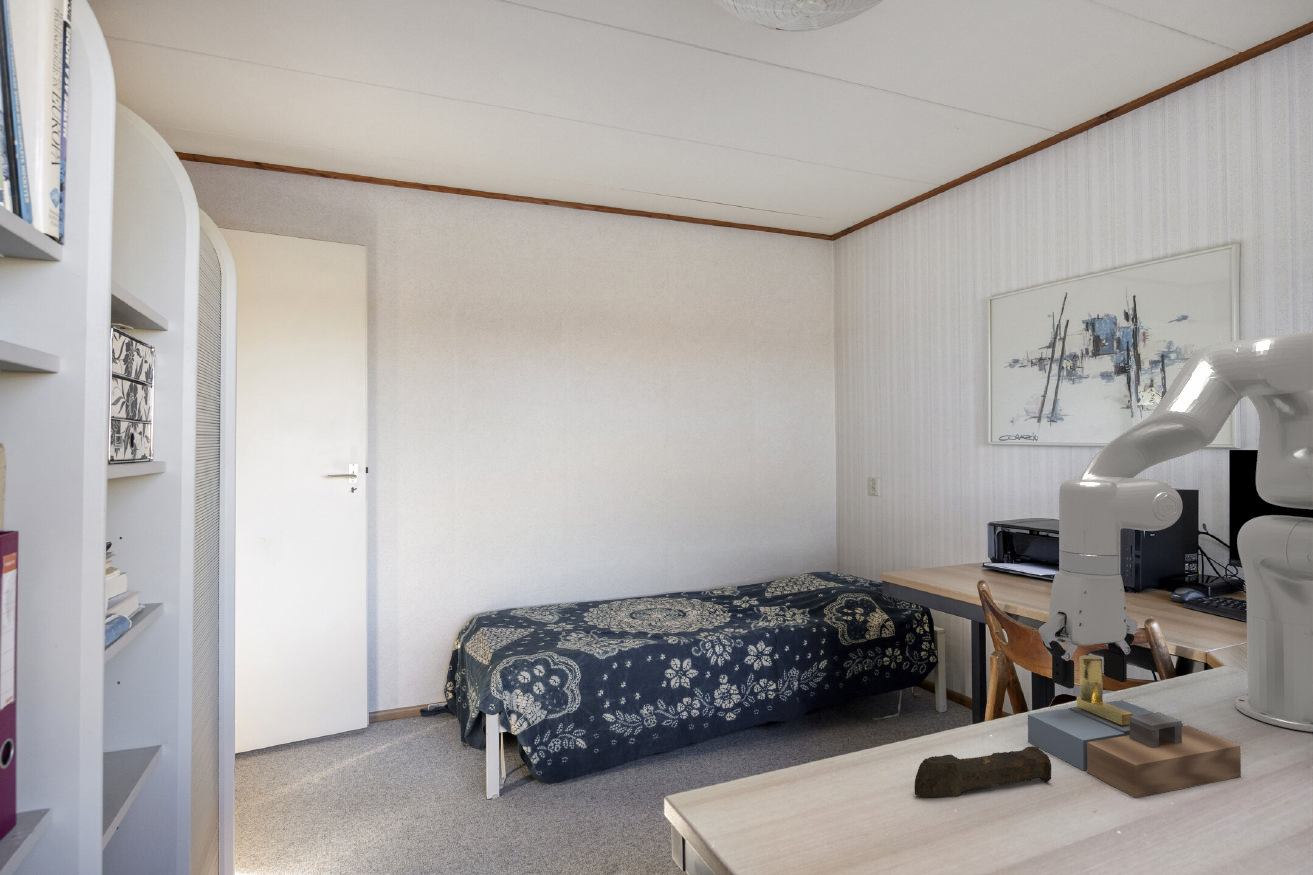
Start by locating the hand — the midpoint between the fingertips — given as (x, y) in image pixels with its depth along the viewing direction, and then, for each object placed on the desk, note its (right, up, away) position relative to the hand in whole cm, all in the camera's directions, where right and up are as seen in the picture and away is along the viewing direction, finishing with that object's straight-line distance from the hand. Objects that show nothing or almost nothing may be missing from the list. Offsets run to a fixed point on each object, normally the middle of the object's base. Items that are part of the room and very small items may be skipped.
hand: (1089, 682), depth 98 cm
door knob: (+1, -4, -2) cm, 4 cm away
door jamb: (+3, -8, -10) cm, 13 cm away
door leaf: (+1, -9, -2) cm, 9 cm away
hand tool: (-22, -9, -13) cm, 27 cm away
